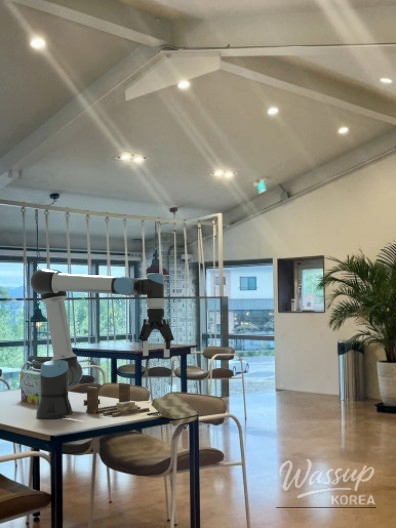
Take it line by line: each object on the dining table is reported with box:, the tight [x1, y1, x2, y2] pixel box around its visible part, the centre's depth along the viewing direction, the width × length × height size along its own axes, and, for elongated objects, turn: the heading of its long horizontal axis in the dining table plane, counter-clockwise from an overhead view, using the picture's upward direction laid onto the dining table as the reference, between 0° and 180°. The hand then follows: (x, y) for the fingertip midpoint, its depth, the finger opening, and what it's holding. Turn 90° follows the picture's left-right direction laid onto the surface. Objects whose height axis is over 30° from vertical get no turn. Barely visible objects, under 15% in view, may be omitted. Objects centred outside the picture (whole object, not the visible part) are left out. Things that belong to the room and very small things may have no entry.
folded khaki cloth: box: [151, 393, 199, 427], centre depth 281 cm, size 14×3×15 cm
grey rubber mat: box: [146, 411, 160, 416], centre depth 288 cm, size 14×11×1 cm
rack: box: [84, 382, 151, 418], centre depth 286 cm, size 22×19×12 cm
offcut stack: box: [115, 400, 139, 413], centre depth 282 cm, size 9×4×4 cm, turn 137°
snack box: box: [20, 369, 41, 406], centre depth 327 cm, size 21×6×15 cm, turn 37°
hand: (156, 356), depth 290 cm, fingers open, 13 cm apart
